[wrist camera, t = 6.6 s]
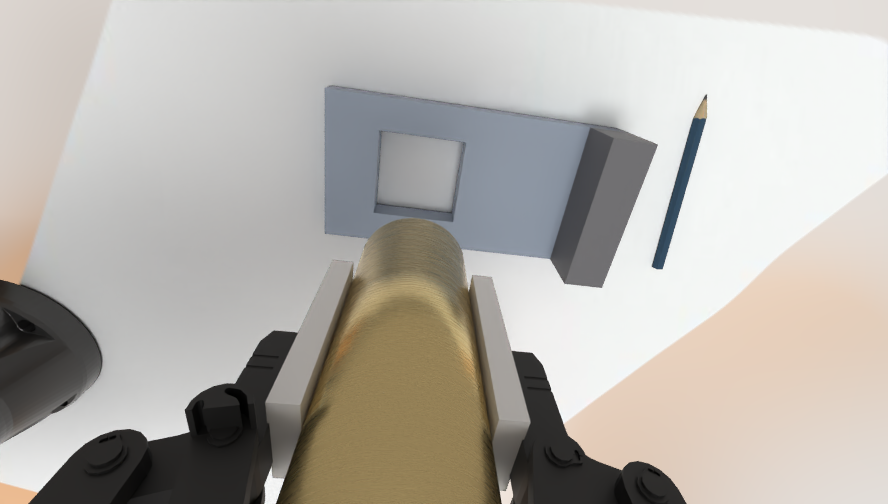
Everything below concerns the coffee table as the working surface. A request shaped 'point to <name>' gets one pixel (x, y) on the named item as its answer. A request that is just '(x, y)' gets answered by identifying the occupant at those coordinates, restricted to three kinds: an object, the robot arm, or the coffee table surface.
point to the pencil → (681, 184)
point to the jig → (492, 178)
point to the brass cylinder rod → (399, 385)
